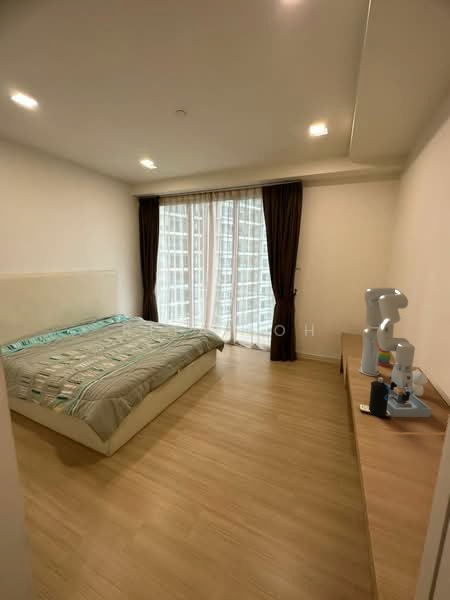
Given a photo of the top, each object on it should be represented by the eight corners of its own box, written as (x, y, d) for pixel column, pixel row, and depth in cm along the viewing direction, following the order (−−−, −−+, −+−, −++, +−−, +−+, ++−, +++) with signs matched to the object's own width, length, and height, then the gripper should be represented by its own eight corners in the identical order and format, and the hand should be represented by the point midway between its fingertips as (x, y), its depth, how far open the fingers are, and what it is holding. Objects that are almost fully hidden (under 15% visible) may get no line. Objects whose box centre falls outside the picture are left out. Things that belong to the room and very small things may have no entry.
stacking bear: (386, 361, 179) (389, 338, 175) (393, 367, 169) (396, 344, 166) (371, 360, 181) (373, 338, 178) (376, 366, 171) (379, 343, 168)
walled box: (370, 394, 139) (371, 386, 138) (402, 394, 138) (403, 386, 137) (393, 418, 119) (394, 408, 118) (430, 418, 118) (431, 409, 117)
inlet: (386, 399, 132) (386, 395, 132) (400, 399, 132) (401, 395, 131) (395, 409, 124) (396, 404, 124) (411, 409, 124) (412, 404, 123)
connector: (399, 401, 130) (401, 387, 128) (404, 406, 126) (406, 391, 124) (392, 401, 130) (393, 387, 128) (397, 406, 126) (398, 391, 125)
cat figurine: (426, 400, 132) (431, 375, 129) (399, 394, 138) (403, 371, 135) (422, 391, 140) (426, 368, 137) (396, 386, 146) (400, 364, 143)
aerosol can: (368, 415, 121) (372, 380, 117) (367, 406, 129) (370, 372, 125) (388, 420, 118) (392, 384, 114) (385, 410, 125) (389, 375, 121)
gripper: (423, 374, 115) (418, 405, 119) (399, 358, 132) (395, 385, 136) (407, 374, 116) (402, 405, 119) (385, 358, 132) (382, 385, 136)
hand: (399, 394), depth 128 cm, fingers open, 9 cm apart
